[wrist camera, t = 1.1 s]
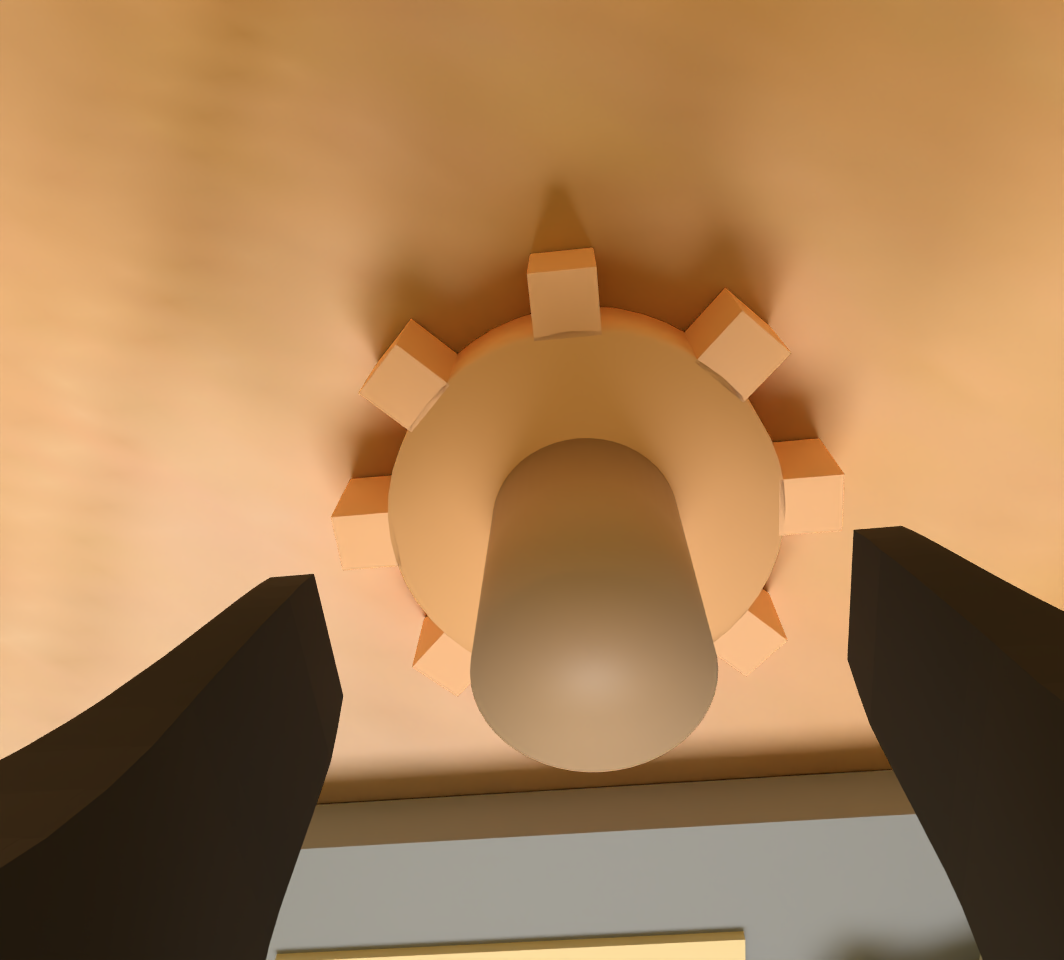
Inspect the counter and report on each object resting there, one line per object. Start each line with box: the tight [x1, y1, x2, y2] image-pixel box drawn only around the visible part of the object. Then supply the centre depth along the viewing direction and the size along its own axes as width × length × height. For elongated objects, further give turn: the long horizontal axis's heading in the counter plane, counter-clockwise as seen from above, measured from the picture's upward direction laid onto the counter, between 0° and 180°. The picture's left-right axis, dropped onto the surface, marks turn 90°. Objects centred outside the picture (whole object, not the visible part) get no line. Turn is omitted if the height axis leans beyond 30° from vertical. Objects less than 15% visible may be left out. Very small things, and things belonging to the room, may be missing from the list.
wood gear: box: [331, 247, 844, 772], centre depth 13 cm, size 8×8×6 cm
